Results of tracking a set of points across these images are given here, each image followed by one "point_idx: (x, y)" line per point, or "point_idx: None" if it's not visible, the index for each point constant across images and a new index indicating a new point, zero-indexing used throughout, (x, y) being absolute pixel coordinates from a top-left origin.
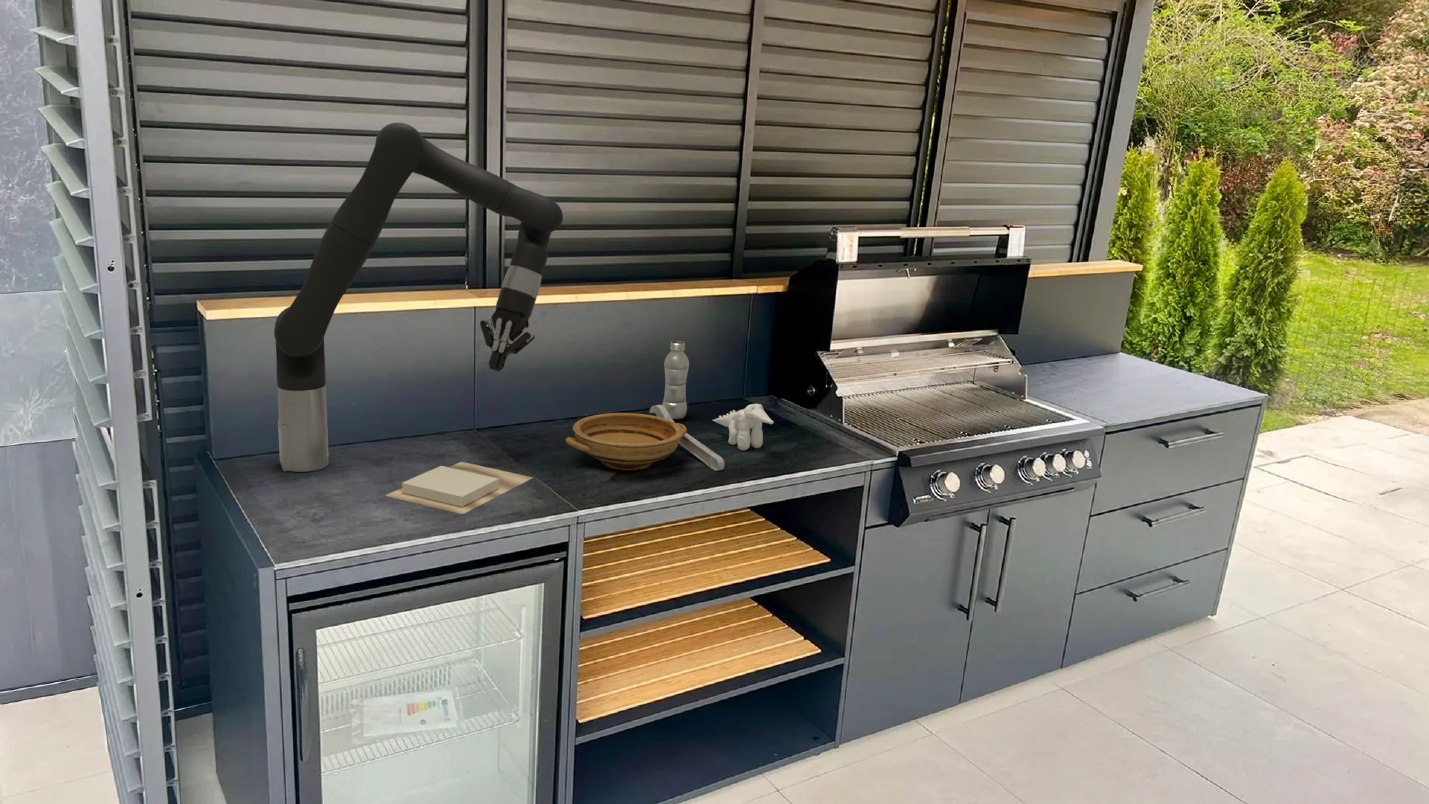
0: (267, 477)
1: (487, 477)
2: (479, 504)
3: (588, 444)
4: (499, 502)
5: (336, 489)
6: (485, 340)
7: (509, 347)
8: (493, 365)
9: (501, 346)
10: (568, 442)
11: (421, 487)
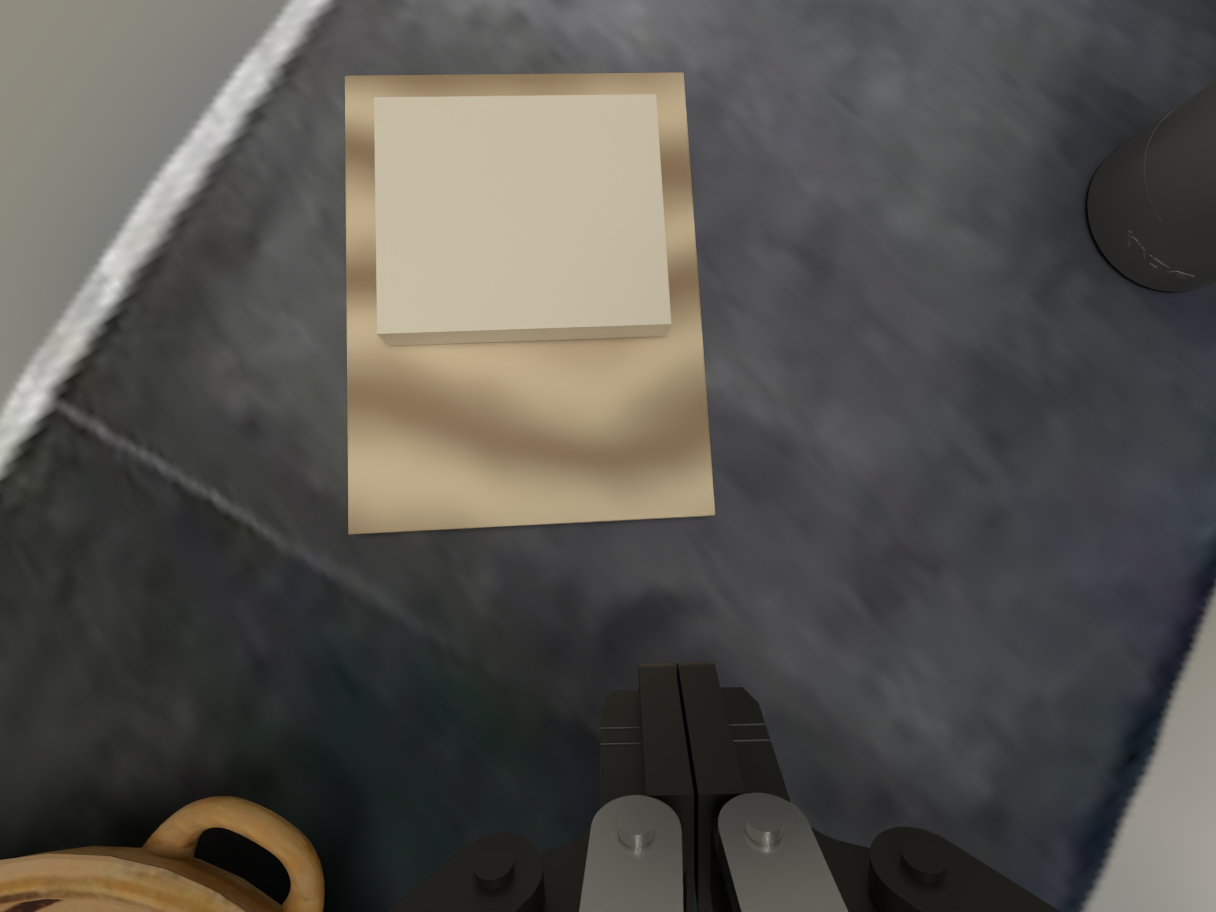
0: (1149, 67)
1: (425, 317)
2: (351, 178)
3: (160, 860)
4: None
5: (895, 102)
6: (1016, 890)
7: (496, 894)
8: (672, 678)
9: (657, 875)
10: (264, 810)
11: (565, 96)
